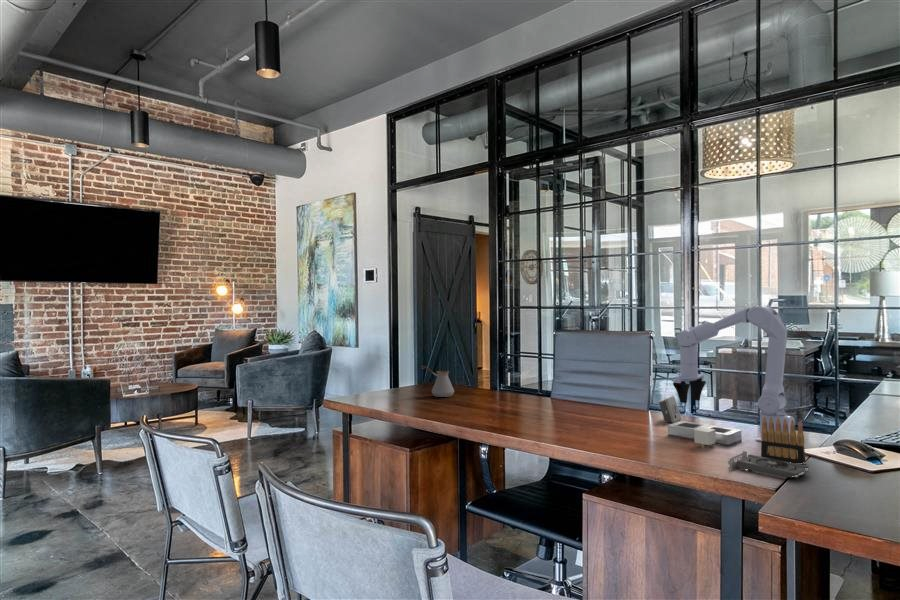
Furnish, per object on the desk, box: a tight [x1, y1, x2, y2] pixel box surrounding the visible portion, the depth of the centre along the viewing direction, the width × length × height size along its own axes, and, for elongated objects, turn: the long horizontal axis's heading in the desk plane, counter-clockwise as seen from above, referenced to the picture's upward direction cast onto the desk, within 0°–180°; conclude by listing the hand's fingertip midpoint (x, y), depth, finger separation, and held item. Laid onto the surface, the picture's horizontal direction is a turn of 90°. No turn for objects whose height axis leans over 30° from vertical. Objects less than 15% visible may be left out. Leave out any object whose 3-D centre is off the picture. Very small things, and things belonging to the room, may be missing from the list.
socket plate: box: [667, 420, 743, 447], centre depth 181 cm, size 20×10×4 cm, turn 40°
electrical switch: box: [658, 395, 682, 424], centre depth 209 cm, size 9×5×9 cm, turn 141°
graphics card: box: [727, 450, 809, 480], centre depth 143 cm, size 17×4×12 cm
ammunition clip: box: [760, 417, 806, 464], centre depth 154 cm, size 11×2×12 cm, turn 50°
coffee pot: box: [421, 365, 455, 398], centre depth 276 cm, size 21×12×15 cm, turn 43°
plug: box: [693, 427, 716, 448], centre depth 171 cm, size 4×5×5 cm
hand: (689, 401), depth 194 cm, fingers open, 7 cm apart
